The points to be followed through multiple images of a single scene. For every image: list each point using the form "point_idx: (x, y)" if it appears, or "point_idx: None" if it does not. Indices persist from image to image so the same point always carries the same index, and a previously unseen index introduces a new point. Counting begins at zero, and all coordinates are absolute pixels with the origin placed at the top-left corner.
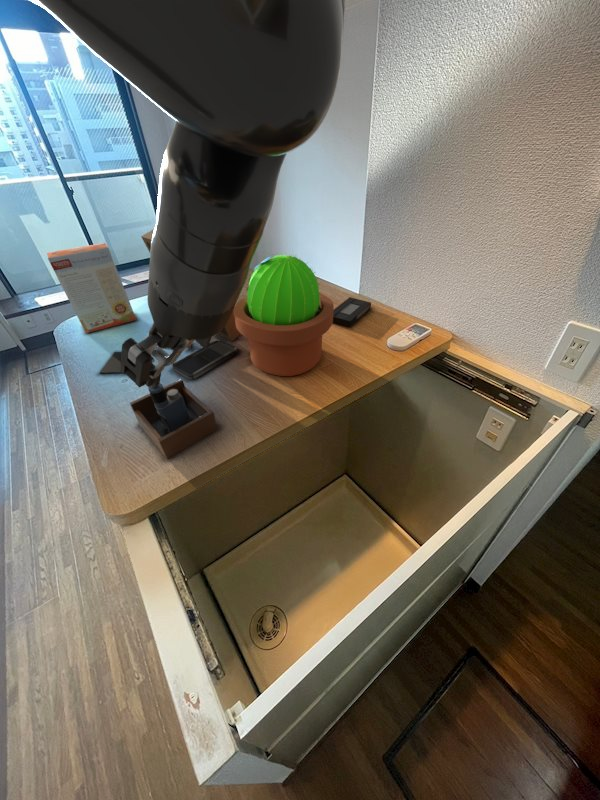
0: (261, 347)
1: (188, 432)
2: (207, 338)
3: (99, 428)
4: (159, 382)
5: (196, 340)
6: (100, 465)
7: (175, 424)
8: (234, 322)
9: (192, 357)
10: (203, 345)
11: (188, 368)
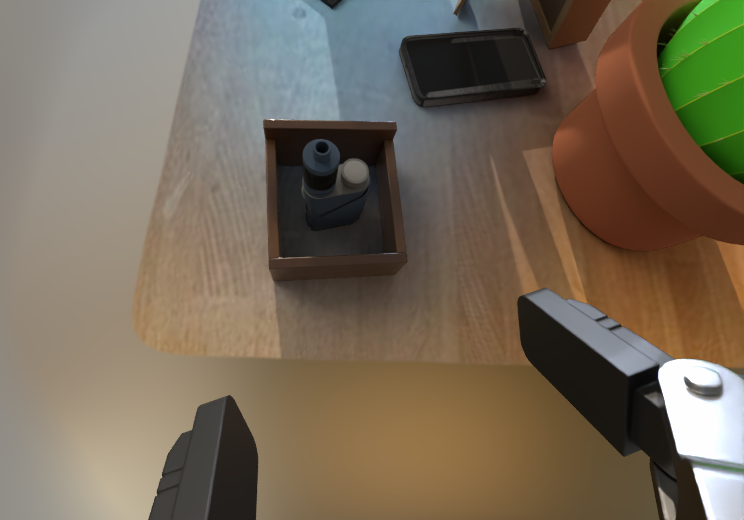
0: (607, 154)
1: (336, 269)
2: (584, 411)
3: (199, 110)
4: (256, 479)
5: (521, 313)
6: (160, 208)
7: (325, 220)
8: (589, 12)
9: (450, 45)
10: (530, 354)
11: (427, 72)
